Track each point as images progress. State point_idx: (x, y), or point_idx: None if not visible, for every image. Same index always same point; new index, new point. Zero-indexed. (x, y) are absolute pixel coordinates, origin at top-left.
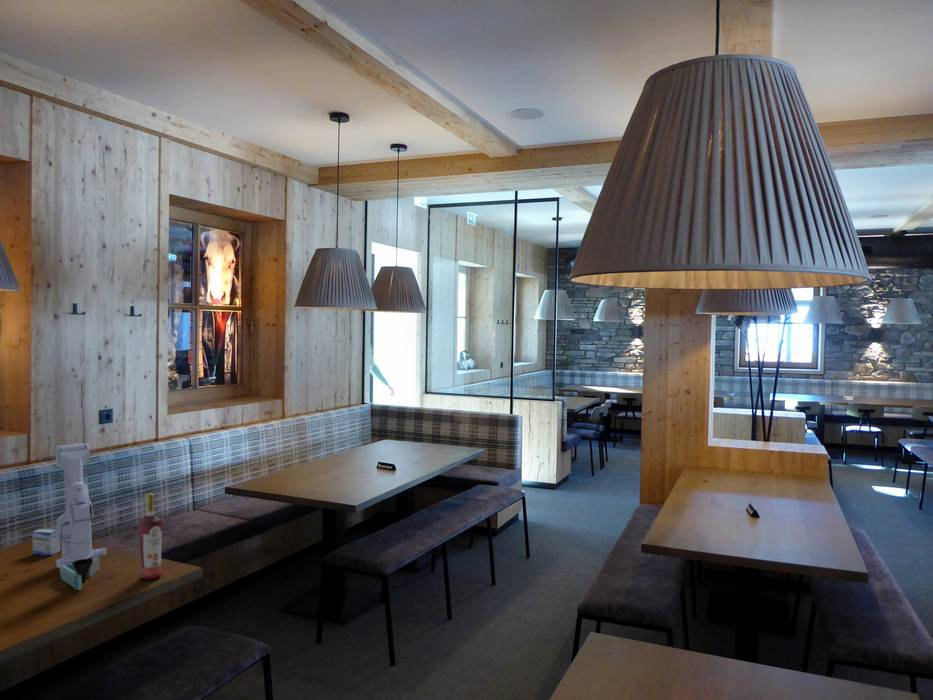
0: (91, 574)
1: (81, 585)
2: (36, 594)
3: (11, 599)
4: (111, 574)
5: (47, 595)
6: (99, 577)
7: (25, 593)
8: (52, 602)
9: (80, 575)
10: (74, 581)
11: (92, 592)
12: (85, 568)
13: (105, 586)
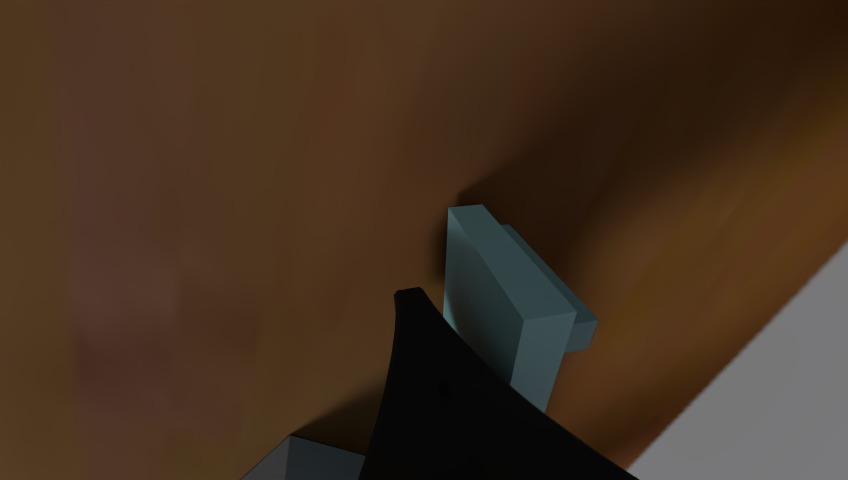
0: (273, 465)
1: (463, 229)
2: (656, 330)
3: (747, 333)
4: (89, 429)
5: (647, 274)
6: (216, 410)
7: (663, 373)
8: (759, 73)
9: (533, 324)
10: (558, 281)
11: (384, 16)
12: (466, 467)
13: (172, 121)
